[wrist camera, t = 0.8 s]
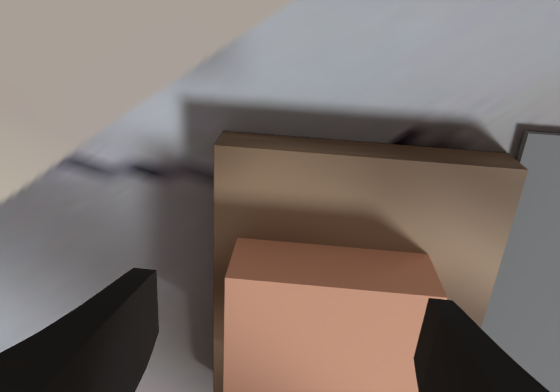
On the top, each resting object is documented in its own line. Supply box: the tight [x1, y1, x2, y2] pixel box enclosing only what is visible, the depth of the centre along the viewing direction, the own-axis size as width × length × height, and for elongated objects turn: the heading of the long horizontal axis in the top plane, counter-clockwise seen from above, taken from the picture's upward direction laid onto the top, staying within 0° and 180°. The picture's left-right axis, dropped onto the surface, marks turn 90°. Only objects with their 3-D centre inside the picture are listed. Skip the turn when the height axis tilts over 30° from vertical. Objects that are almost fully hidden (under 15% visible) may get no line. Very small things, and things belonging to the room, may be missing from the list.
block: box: [223, 238, 447, 392], centre depth 19 cm, size 6×8×3 cm
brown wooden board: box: [214, 131, 528, 392], centre depth 21 cm, size 14×12×2 cm
